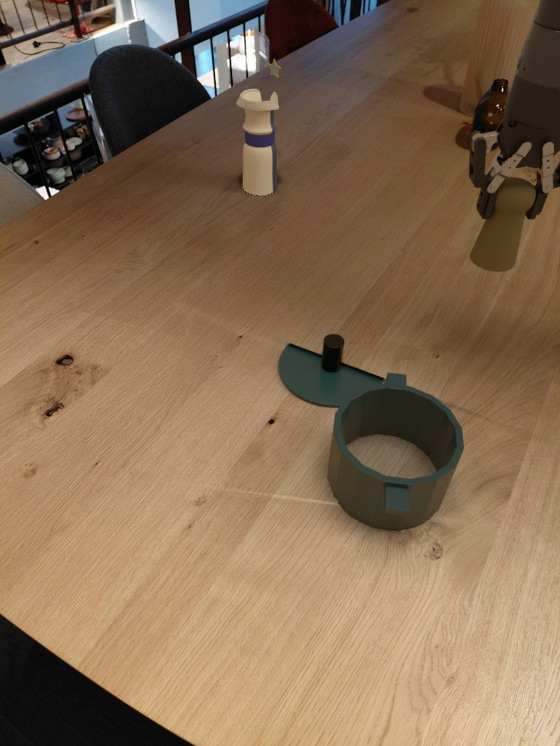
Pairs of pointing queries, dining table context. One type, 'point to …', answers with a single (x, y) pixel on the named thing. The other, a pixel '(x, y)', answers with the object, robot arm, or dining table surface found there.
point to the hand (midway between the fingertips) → (506, 215)
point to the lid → (322, 373)
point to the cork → (504, 226)
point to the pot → (409, 422)
